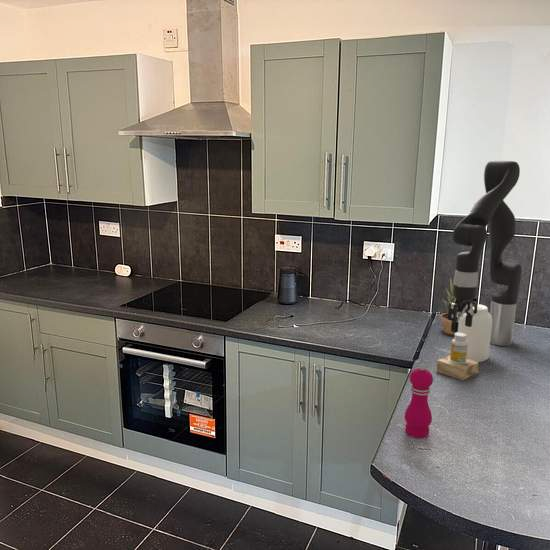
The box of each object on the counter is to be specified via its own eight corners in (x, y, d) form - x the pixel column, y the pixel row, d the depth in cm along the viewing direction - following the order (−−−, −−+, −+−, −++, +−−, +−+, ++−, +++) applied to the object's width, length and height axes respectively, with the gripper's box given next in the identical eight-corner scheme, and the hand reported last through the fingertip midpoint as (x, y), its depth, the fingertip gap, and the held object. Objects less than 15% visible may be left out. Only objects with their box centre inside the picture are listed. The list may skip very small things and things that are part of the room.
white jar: (494, 357, 196) (500, 306, 191) (477, 365, 188) (483, 312, 183) (463, 347, 205) (468, 299, 200) (446, 355, 197) (451, 305, 192)
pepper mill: (398, 432, 142) (403, 364, 138) (412, 422, 147) (417, 356, 143) (421, 442, 137) (427, 372, 133) (435, 432, 142) (441, 364, 138)
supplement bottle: (453, 356, 185) (455, 330, 182) (468, 360, 181) (471, 334, 179) (447, 361, 181) (450, 334, 178) (463, 365, 177) (465, 338, 175)
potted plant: (439, 327, 228) (443, 273, 223) (461, 329, 226) (467, 274, 220) (439, 335, 219) (444, 278, 213) (463, 337, 216) (469, 280, 211)
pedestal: (452, 364, 189) (453, 353, 188) (477, 373, 181) (479, 361, 180) (436, 370, 183) (437, 359, 182) (462, 380, 175) (463, 368, 174)
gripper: (467, 278, 182) (463, 322, 186) (443, 284, 173) (439, 330, 177) (487, 282, 176) (482, 327, 180) (463, 289, 167) (459, 336, 171)
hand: (461, 329), depth 178 cm, fingers open, 8 cm apart
